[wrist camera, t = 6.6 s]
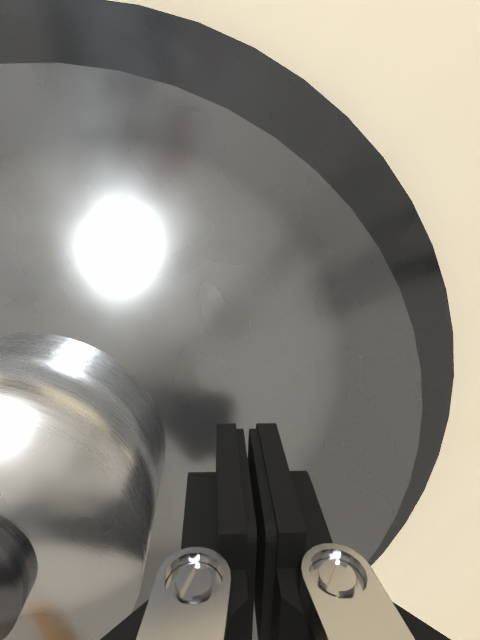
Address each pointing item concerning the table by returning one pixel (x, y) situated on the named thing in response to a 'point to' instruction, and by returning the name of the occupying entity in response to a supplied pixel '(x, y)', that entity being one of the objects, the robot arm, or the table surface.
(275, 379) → the platter
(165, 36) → the base
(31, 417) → the cover
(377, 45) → the table surface
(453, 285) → the table surface
